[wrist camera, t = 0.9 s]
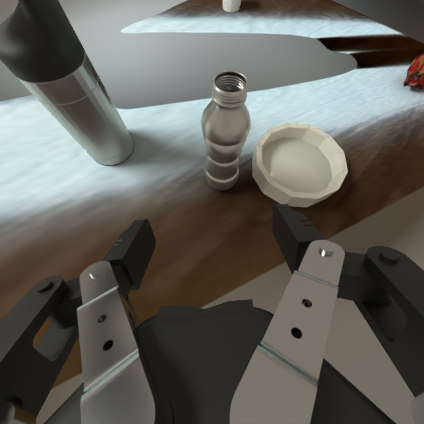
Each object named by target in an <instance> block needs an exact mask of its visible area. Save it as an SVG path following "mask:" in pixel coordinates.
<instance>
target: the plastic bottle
mask: <svg viewBox="0 0 424 424" xmlns="http://www.w3.org/2000/svg"><path fill="white" fill-rule="evenodd" d="M247 88H248V81H247V78H246V77H245V76H244V75H243V74H241V73H239V72H237V71H230V70H228V71H222V72H220V73H218V74H217V75H216V76H215V77H214V80H213V90H212V101H211V102H210V103H209V104H208V106H207V107H206V108H205V110H204V112H203V115H202V118H201V125H202V131H203V135H204V139H205V143H206V152H207V159H206V165H205V169H204V176H205V179H206V182H207V183H208V185H209V186H210V187H212V188H214V189H216V190H228V189H230V188H231V187H233V186H234V185H235V183H236V181H237V180H238V176H239V168H238V164H239V156H240V153H241V150H242V147H243V145H244V142H245V140H246V138H247V135H248V133H249V130H250V127H251V120H250V115H249V112H248V110H247V108H246V106H245V104H244V103H245V101H246V97H247V94H246V92H247Z"/></svg>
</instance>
